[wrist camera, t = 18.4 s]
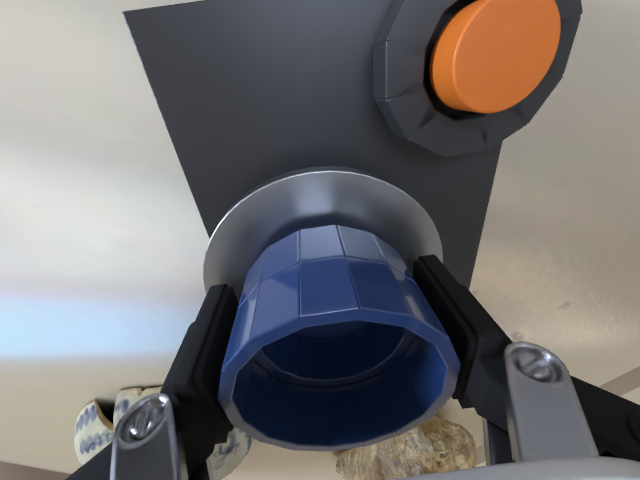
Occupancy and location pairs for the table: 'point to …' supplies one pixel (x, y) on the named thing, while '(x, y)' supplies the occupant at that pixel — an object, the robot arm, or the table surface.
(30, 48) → the table surface
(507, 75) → the button
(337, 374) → the small bowl
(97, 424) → the decorative bowl
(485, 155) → the scale
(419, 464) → the seashell
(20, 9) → the table surface
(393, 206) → the silver metal disc
